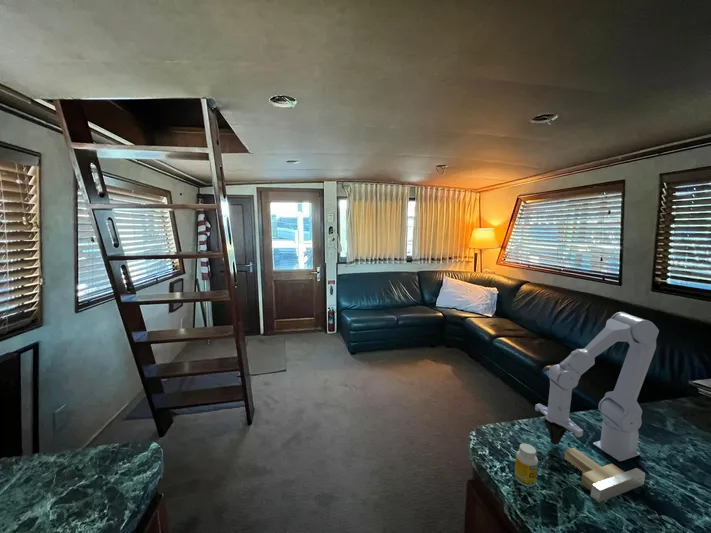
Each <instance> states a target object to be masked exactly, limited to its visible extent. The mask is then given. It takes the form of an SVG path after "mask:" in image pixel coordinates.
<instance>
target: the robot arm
mask: <svg viewBox="0 0 711 533" xmlns="http://www.w3.org/2000/svg"><path fill="white" fill-rule="evenodd" d="M659 332H660V330H659V329H658V327H657V326H656V324H655V323H654V322H652V321H650V320H648V319H643V318H641V317H638V316H635V315H631V314H629V313H627V312H625V311H619V312H616V313H614V314H613V315H611V317H610V318H608V319H607V320H606V324H605V327H604V328H603V329H602V330H601V331H600V332H599V333H598V334H597V335H596V336H595V337H594V338H593V339H592V340H591V341H590V342H589V343H588V344H587V345H586V346H585V347H584V348H576V349H575V350H573V351H571V352H570V354H568V356H567V357H566V358H565V359H563V360H562V361H561V362H560V363H558V364H554V365H552V366H550V367H549V369H548V370H546V374H547V377H548V379H549V391H548V392H549V394H548V400H547V402H548V404H547V406H546V405H543V404H542V403H537V404H535V406H534V410H535V411H536V412H540V413H541V414H543V415H544V416H545V419H544V420H543V422H544V425H545V426H546V428H547V431H548V434H549V439H550V443H551V444H552V445H554V446H555V445H559V444H560V442H561V440H562V438H563V436H564V435H565V433H566V432H567V431H570V432H571V433H573V434H574V436H575V437H576V438H580V437H583V435H584V430H583V429H582V428H580V427H579V426H578V425H577V424H576V423H575V422H574V421H572V420H571V418H570V411H571V402H572V394H573V389H575V388H576V387H578V384H579V380H580V379H581V376H582V375H583V374H585V373H586V372H587V371H589V369H590V368H591V367H593V366H594V365H596V364H595V363H596V361H595V359H596V357H597V356H599V355H600V354H602V353H603V352H604V351H606V350H607V349H610V347H611V346H614V344H616V343H617V342H621V343H622V342H624V343H625V342H626V343H627V344H629V348H628V350H627V353H626V356H625V358H624V362H623V364H622V367H621V369H620V373H619V376H618V378H617V381H616V383H615V387H614V389H613V391H611V390H610V391H607V392H605V394H604V397H603V398H602V399H600V400H599V402H598V407H597V408H598V410H599V412H600V413H601V417H602V423H601V424H602V427H601V432H600V434H601V435H600V440H598V441H595V442H593V443H592V444H593V446H595V447H596V448H598V449H600V450H601V451H603V452H604V453H606V454H608V455H609V456H611V457H613V459H615V460H617V461H618V462H622V461H626V460H628V459H631V458H632V459H633V458H636V457H637V456H640V455H641V453H640V452H638V451H637V449H638V443H639V435H640V434H639V429H640V428H641V426H642V424H643V422H642V415H643V410H642V408H641V406H640V404H639V402H638V397H639V395H640V392H641V389H642V386H643V384H644V381H645V378H646V376H647V373H648V370H649V368H650V366H651V362H652V361H653V357H654V355H655V351H656V350H657V338H658V335H659Z"/></svg>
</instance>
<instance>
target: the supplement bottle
mask: <svg viewBox="0 0 711 533" xmlns="http://www.w3.org/2000/svg"><path fill="white" fill-rule="evenodd" d="M514 462H515V464H514V465H515V466H514V478H515V480H517V482H518V483H519V484H521V485H523V486H525V487H530V488H531V487H534V486H535V485H536V484H537V479H538V478H537V476H538V467H539V466H538V465H539V460H538V457H537V450H536V448H535V447H534V446H533V445H531V444H529V443H524V442H523V443H520V444H519V449H518V450H517V451H516V453H515V461H514Z"/></svg>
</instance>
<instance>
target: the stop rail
mask: <svg viewBox="0 0 711 533" xmlns="http://www.w3.org/2000/svg"><path fill="white" fill-rule="evenodd" d="M645 477H646V473H645V472H644V471H643V470H642V469H640V468H637V467H636V468H633V469H630V470H627V471H624V473H621V474H619V475H616V476H613V477H610V478H608V479H605V480H602V481H599V482H597V483H594V484H592V488H591V491H590V497H591V498H592V499H593V500H595V502H597V503H601V502H604V501H606V500H609V499H612V498H614V497H617V496H619V495H621V494H624V493H627V492H629V491H631V490H633V489H636V488H639V487H642V486H644V484H645V479H646V478H645Z"/></svg>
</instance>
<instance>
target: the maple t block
mask: <svg viewBox="0 0 711 533" xmlns="http://www.w3.org/2000/svg"><path fill="white" fill-rule="evenodd" d="M564 460H565V461H566V460H567V462H568V463H569V462H570V463H571V464H570V463H569V464H570V465H572V466H573V465H574V466H575V467H574V466H573V467H574V468H576V467H577V468H578V469H580V470H581V471H582V472H581V471H580V470H579V471H580V472H581V481H580V484H581V483H582V484H581V485H583V486H584V487H585V486H586V487H587V489H588V490H589V489H590V490H591V488H592V484H594V483H597V482H599V481H602V480H605V479H608V478H610V477H613V476H616V475H619V474H621V473H624V472H625V471H624V470H623V469H621V468H619V467H618V466H617V465H616V464H613V463H609V464H606V465H603V466H601V465H600V464H598V463H597V462H595V461H594V460H592V459H591V458H589V457H588V456H586V454H583V453H582V452H581V451H579V450H578V449H576V448H575V447H572V448H571V447H570V448H568V449H565V451H564ZM577 468H576V469H577ZM586 487H585V488H586ZM590 490H589V491H590Z"/></svg>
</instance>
